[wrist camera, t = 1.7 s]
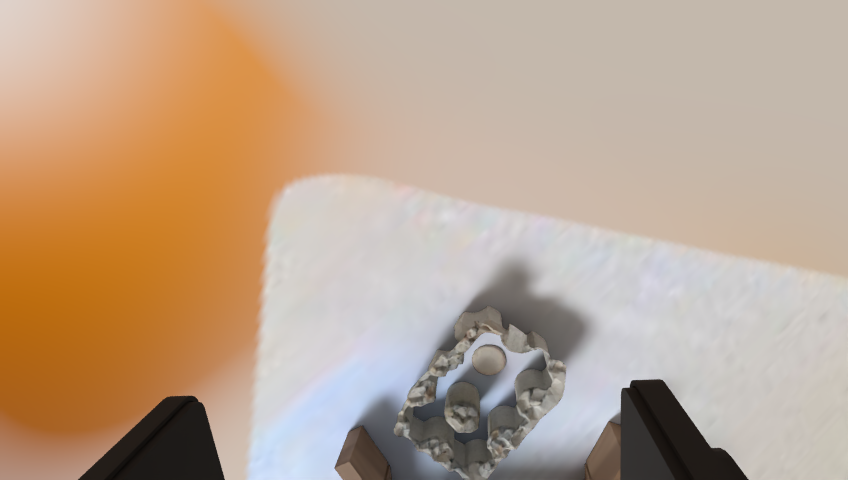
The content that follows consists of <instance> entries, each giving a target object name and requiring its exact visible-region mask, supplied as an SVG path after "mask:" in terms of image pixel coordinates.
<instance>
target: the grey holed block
mask: <svg viewBox="0 0 848 480" xmlns="http://www.w3.org/2000/svg"><path fill="white" fill-rule="evenodd" d="M453 328H455V333H454V334H455V338H456V340H457V341H458V344H457V345H456V346H455V348H454V349H452V350H450V351H442V350H439V349H438V350H437V352H436V354H435V356H434V358H433V360H432V362H431V363H430V365H429V368H428V371H427V372H426V373H425V374H424V375H423V376H422V377H421V378H420V379H419V380H418V381H417V383H416V385H414V386H413V387H412V388H411V389H410V391H409V393H408V396H407V400H406V402H405V404H404V406H403V408H402V410H401V412H399V414H398V417H397V423H396V426H395V428H394V433H395V435H397V436H398V437H401V436H405V437H406V438H408V439H409V440H410V441H411V442H412V443H413V444H414V446H415V448H416V450H418V451H419V452H425V453H427V454H428V455H429V456H430V457H431V458H432V459H433V460H434V461H436V462H438V463H440V464H441V465H442V466H444V467H445V468H446V469H447V470H448V471H449V472H451V471H456V472H458V473H459V474H460V476H461V477H462V478H463V479H464V480H487V479H488V477H489V476H490V475H491V474H492V472H493V471H494V470H495V469H496V467H497V465H498V463H499V462H500V461H501V460H502V458H506V457H507V455H508V453H509V451H510V450H511V449H517V448H518V446H519V445H520V443H521V442H522V440H523V439H524V438H525V436H526V435H527V434H528V433H529V432H530V431H531V430H532V429H533V428H534V427H535V425H536V424H537V423H538V421H539V420H540V419H541V418H542V417H543V416H544V415H545V414H547V413H548V412H549V411H550V410H551V409H552V408H554V407H555V406H556V405H557V404H558V402H559V401H560V399H561V398H562V396H563V392H564V387H565V375H566V366H565V365H564V363H562V362H561V361H558V360H551V358H550V355H549V353H548V347H547V345H546V341H545V339H544V338H542V337H541V336H540V335H538V334H537V333H536V332H533V331H531V332H530V333H529V334H527V335H525V334H524V333H523V332H522V331H520V330H519V329H517V328H516V327H514V326H513V325H512V324H509V327H508V329H504V328H503V327H502V321H501V313H500V312H499V311H497V310H496V309H494V308H492V307H491V306H487V307H486V308H484V309H483V310H481V311H479V312H474V313H470V312H464V313H463V314H462V315H461V316H460V317H459V319H458V321H457V323H456V324H455V326H454V327H453ZM485 332H488V333H494V334H497V335H500V336H501V341H502V343H503V345H504V346H505V347H506V348H507V349H508V350H510V351H512V352H516V353H526V352H529V351H531V350H536V349H541V350H543V353H544V356H545V360H546V364H547V366H546V367H545V369H544V370H542V371H539V370H536V369H528V370H525V371H523V372H521V373H520V374H518V375H517V377H516V379H515V383H514V384H515V392H516V401H517V405H516V406H515V407H514V408H513V407H510V406H498V407H495V408H494V409H493V410H491V412H490V413H489V415H488V440H487V441H485V440H482V439H474V440H471V441H469V442H467V443H466V444H463V443H461V442H459V441H457V440H456V439H455V438H454V430H455V431H456V432H458V433H464V432H465V433H472V432H474V431H476V430H477V429H478V427H479V418H480V397H479V393H478V390H477V388H476V387H475V386H474V385H472V384H470V383H467V382H457V383H455V384H453V385H451V386H450V387H449V389H448V391H447V394H446V403H445V410H444V414H445V417H441V416H434V417H431V418H429V419H428V420H426V421H425V422H424V421H421V420H420V419H418V418H416V417H414V416H413V413H414V406H420V407H422V406H424V405H426V404H427V403H433V402H434V400H435V398H436V396H435V395H436V386H437V378H438V376H439V377H441V376H446V373H447V371H449V370H454V369H456V368H457V366H458V365H459V364H463V361H464V352H466V351H467V350H468V349H469V348H470V346H471V345H472V344H473V343H474V341H475V340H476V339H477V338H478V337H479V336H480V335H481V334H483V333H485ZM472 363H473V366H474V368H475V369H476V370H477V371H478V372H479V373H482V374H484V375H494V374H497V373H498V372H500V371H501V370H502V369H504V367H505V363H506V359H505V355H504V353H503V351H502V350H501V349H500V348H498V347H496V346H494V345H484V346H481V347H479V348H478V349H476V350H475V352H474V354H473V356H472Z"/></svg>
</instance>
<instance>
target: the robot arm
mask: <svg viewBox="0 0 848 480" xmlns="http://www.w3.org/2000/svg"><path fill="white" fill-rule="evenodd" d="M78 480H225V479H224V475H223V472H222V468H221V464H220V461H219V457H218V454H217V450H216V447H215V443H214V440H213V436H212V432H211V429H210V425H209V422H208V418H207V415H206V411H205V407H204V405H203V404H202V403H200V402H198V399H197V398H196V397H194V396H171V397H167V398H165V399H164V400H162V401H161V402H160V403H159V404H158V405H157V406H156V407H155V408H154V409H153V410H152V411H151V412H150V413H149V414H147V416H145V417H144V418H143V419H142V420H141V421H140V422H139V423H138V424H137V425H136V426H135V427H134V428H133V429H131V431H129V432H128V433H127V434H126V435H125V436H124V437H123V438H122V439H121V440H120V441H119V442H118V443H117V444H116V445H115V446H113V447H112V448H111V449H110V450H109V451H108V452H107V453H106V454H105V455H104V456H103V457H102V458H101V459H99V460H98V461H97V462H96V463H95V464H94V465H93V466H92V467H91V468H90V469H89V470H88V471H87V472H86V473H85V474H84V475H82V476H81V477H80V479H78ZM620 480H748V479H747V477H746V476H745V475H744V473H743V472H742V470H741V469H740V468H739V466H738V465H737V464H736V462H735V461H734V460H733V458H732V457H731V456H730V455H729V454H728V453H727V452H726V451H725V450H723V449H721V448H711V447H710V446H709V444H708V443H707V442H706V440H705V439H704V437H703V436H702V435H701V433H700V432H699V430H698V429H697V427H696V426H695V425H694V423H693V422H692V420H691V419H690V418H689V416H688V415H687V413H686V412H685V411H684V409H683V408H682V406H681V405H680V403H679V402H678V401H677V399H676V398H675V396H674V395H673V394H672V392H671V391H670V389H669V388H668V386H667V385H666V384H665V382H664V381H663V380H660V379H657V380H633V381H631V383H630V388H623V389H622V391H621V456H620Z"/></svg>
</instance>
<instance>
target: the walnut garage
mask: <svg viewBox="0 0 848 480" xmlns="http://www.w3.org/2000/svg"><path fill="white" fill-rule="evenodd" d="M620 456H621V426H620V425H618V424H615V423H612V422H608V424H607V425H606V427H605V429H604V431H603V432H602V434H601V436H600V438H599V439H598V441H597V443H596V445H595V446H594V448H593V450H592V452H591V454H590V455H589V457H588V459H587V461H586V463H587V464H585V480H620ZM335 470H336V471H337V472H338V474H339V475H340V476H341V478H342V479H343V480H392V476H391V470H390V465H388V462H387V460H386V459H385V458H384V456H383V455H382V453H381V452H380V450H379V449H378V448H377V446H376V445H375V443H374V442H373V441H372V439H371V438H370V436H369V435H368V433H367V432H366V431H365V429H364V428H363V426H360V427H358V428H356V429H354V430H352V431H350V432H348V435H347V437H346V440H345V442H344V445H343V448H342V450H341V453H340V455H339V458H338V460H337V463H336V465H335Z"/></svg>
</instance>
